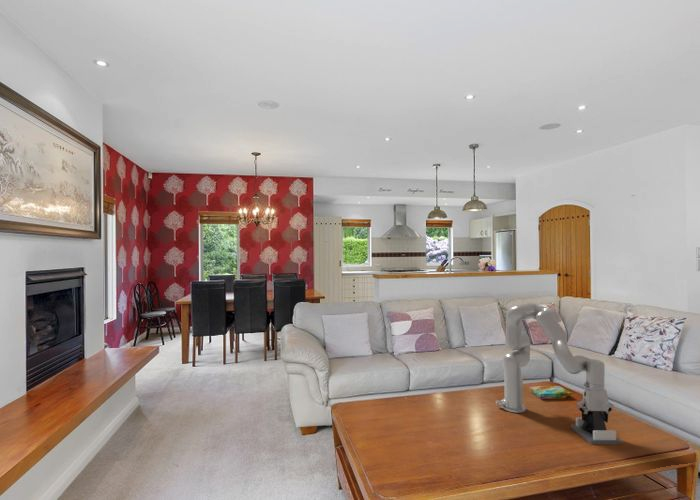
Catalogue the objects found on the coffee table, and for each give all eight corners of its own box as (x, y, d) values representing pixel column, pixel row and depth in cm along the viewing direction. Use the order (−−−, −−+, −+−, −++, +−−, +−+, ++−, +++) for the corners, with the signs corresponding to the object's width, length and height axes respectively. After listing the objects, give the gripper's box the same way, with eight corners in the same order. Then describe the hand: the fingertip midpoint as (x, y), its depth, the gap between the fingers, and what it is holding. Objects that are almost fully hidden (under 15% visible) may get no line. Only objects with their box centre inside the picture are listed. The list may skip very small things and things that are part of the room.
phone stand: (581, 428, 184) (581, 404, 184) (590, 427, 186) (590, 403, 186) (598, 437, 176) (598, 412, 176) (608, 435, 178) (608, 410, 178)
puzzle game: (529, 385, 235) (559, 384, 236) (529, 393, 235) (559, 392, 236) (540, 392, 223) (571, 391, 225) (540, 400, 223) (571, 399, 225)
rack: (591, 444, 173) (591, 432, 173) (570, 427, 189) (570, 416, 189) (621, 444, 173) (621, 432, 173) (598, 427, 189) (598, 416, 189)
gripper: (581, 388, 177) (581, 424, 177) (618, 388, 177) (618, 424, 177) (572, 383, 185) (572, 417, 185) (607, 383, 184) (607, 417, 185)
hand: (594, 421), depth 181 cm, fingers open, 9 cm apart
